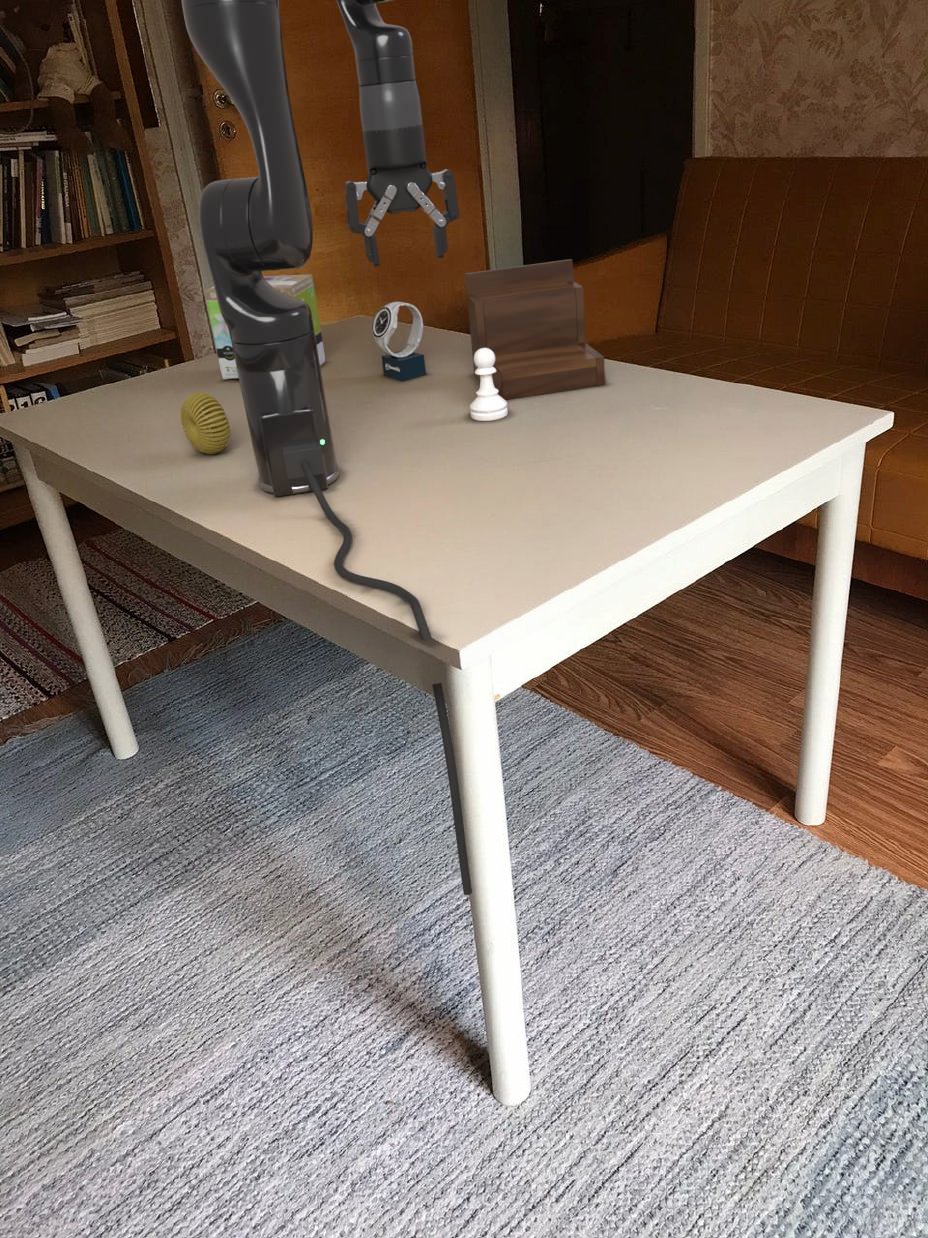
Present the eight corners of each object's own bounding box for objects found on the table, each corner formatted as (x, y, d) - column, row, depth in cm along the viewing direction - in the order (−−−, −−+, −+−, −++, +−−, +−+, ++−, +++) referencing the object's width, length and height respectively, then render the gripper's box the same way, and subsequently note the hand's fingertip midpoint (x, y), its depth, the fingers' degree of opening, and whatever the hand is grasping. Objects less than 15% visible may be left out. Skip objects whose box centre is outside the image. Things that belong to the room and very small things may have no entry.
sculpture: (241, 453, 131) (228, 393, 127) (214, 463, 129) (200, 402, 125) (209, 443, 136) (196, 385, 132) (183, 452, 134) (168, 393, 130)
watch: (373, 378, 158) (363, 306, 152) (415, 366, 162) (407, 296, 156) (392, 384, 154) (382, 310, 148) (435, 371, 157) (427, 299, 152)
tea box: (221, 381, 165) (201, 288, 158) (246, 365, 174) (229, 276, 167) (305, 379, 161) (289, 283, 154) (328, 362, 170) (313, 271, 163)
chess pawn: (464, 420, 134) (457, 353, 130) (480, 409, 138) (474, 343, 134) (499, 422, 132) (493, 353, 128) (513, 410, 136) (508, 343, 131)
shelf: (605, 384, 142) (601, 274, 135) (494, 401, 140) (485, 290, 133) (575, 360, 155) (571, 258, 148) (474, 375, 153) (464, 273, 146)
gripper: (338, 131, 120) (358, 272, 128) (454, 118, 122) (467, 258, 130) (332, 130, 127) (351, 264, 135) (442, 117, 129) (455, 250, 136)
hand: (408, 261), depth 132 cm, fingers open, 8 cm apart
